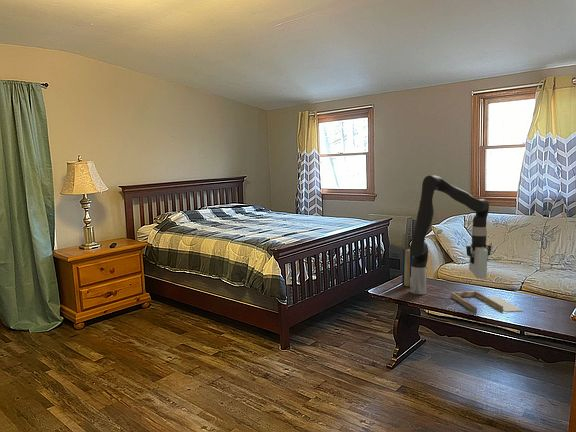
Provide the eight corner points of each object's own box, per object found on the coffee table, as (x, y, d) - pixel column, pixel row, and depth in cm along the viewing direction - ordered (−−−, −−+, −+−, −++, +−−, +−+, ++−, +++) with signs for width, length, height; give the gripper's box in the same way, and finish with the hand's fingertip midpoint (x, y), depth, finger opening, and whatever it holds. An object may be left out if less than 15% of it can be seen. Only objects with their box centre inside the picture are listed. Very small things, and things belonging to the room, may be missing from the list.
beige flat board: (505, 312, 239) (505, 311, 239) (482, 298, 263) (482, 297, 263) (523, 311, 240) (523, 310, 240) (498, 297, 264) (498, 297, 264)
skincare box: (487, 278, 239) (488, 250, 237) (476, 278, 240) (477, 250, 238) (478, 269, 260) (479, 243, 258) (468, 269, 261) (469, 243, 259)
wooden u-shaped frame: (474, 313, 239) (475, 307, 239) (451, 297, 268) (451, 292, 267) (502, 311, 240) (503, 306, 240) (476, 295, 269) (476, 291, 268)
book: (417, 279, 309) (418, 244, 305) (427, 281, 303) (427, 245, 300) (401, 286, 294) (401, 249, 290) (411, 288, 288) (411, 250, 285)
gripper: (487, 232, 252) (486, 261, 254) (463, 233, 250) (462, 262, 253) (494, 235, 244) (493, 264, 246) (470, 235, 243) (469, 265, 245)
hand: (478, 263), depth 249 cm, fingers closed on skincare box, 6 cm apart
